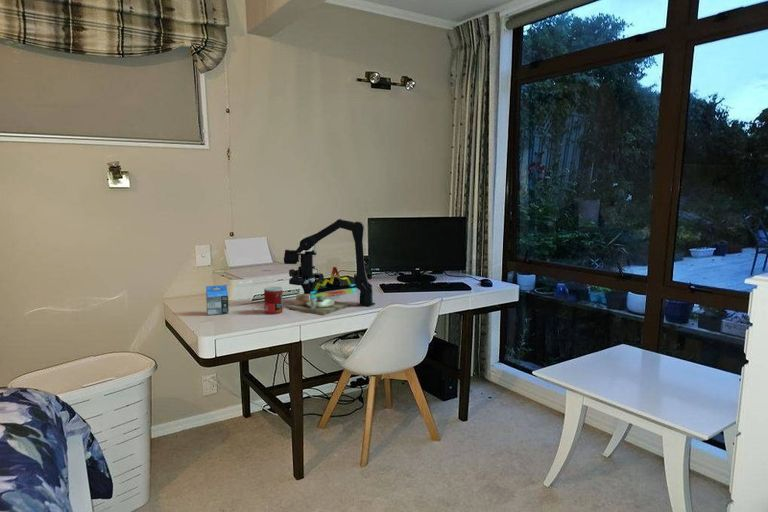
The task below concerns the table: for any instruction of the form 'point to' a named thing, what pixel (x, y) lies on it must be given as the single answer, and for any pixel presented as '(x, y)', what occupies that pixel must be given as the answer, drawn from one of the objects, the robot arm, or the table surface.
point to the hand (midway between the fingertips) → (307, 296)
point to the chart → (332, 283)
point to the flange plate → (320, 301)
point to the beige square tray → (322, 310)
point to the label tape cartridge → (217, 300)
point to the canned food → (273, 300)
